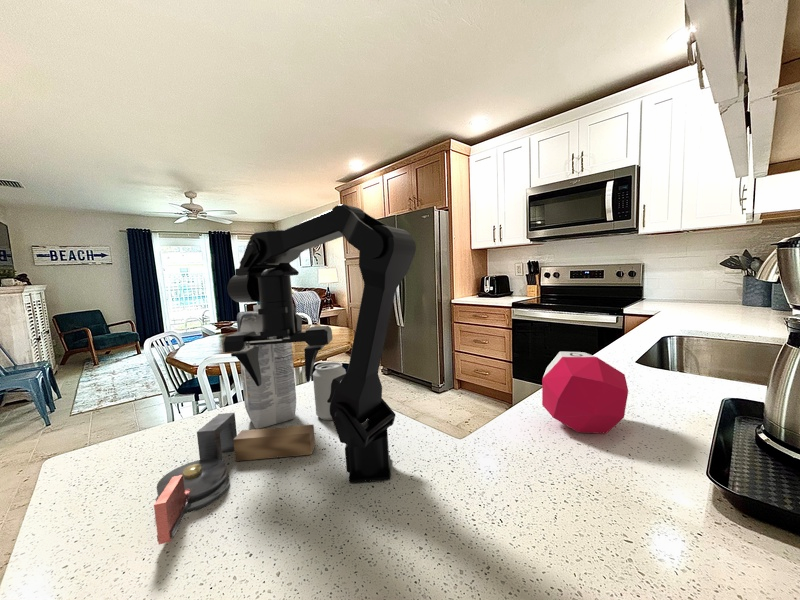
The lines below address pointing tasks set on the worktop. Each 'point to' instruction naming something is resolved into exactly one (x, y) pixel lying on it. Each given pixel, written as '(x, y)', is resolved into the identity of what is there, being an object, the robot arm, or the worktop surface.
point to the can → (325, 386)
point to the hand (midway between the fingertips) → (283, 383)
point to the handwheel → (185, 493)
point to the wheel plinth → (208, 497)
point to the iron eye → (217, 436)
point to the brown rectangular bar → (274, 442)
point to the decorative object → (584, 392)
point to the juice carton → (268, 378)
